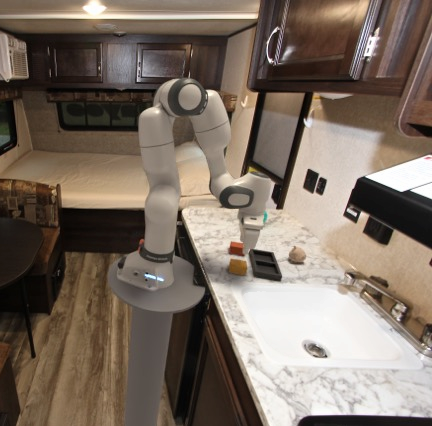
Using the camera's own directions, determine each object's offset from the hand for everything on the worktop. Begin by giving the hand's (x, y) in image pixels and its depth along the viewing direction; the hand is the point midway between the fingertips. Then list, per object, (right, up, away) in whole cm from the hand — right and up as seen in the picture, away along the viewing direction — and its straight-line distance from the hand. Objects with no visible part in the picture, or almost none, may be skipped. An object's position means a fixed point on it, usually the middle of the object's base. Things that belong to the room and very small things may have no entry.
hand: (243, 247), depth 114 cm
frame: (+12, -9, +8) cm, 17 cm away
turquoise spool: (+26, +8, +46) cm, 53 cm away
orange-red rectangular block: (+5, -4, +17) cm, 18 cm away
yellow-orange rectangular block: (-1, -10, +4) cm, 11 cm away
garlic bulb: (+28, -8, +12) cm, 31 cm away
